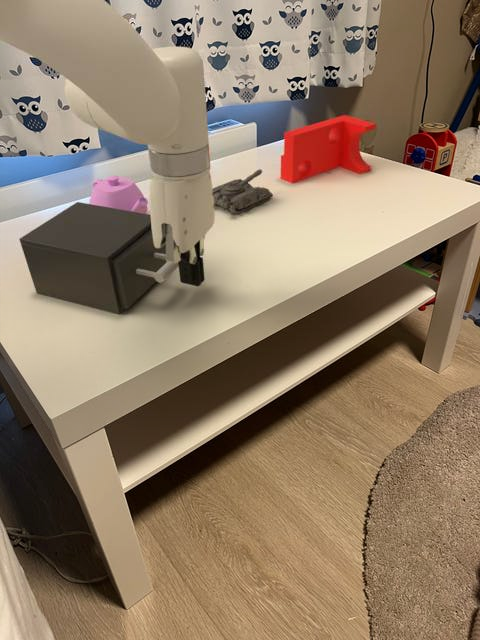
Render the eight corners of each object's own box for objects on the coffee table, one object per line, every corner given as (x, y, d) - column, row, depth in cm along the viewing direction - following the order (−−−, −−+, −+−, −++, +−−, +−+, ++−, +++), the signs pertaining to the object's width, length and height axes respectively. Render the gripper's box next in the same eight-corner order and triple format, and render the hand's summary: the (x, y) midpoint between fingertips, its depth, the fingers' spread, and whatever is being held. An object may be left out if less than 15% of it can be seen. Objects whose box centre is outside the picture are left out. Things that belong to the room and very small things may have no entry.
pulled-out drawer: (196, 273, 84) (191, 229, 79) (155, 316, 75) (148, 269, 70) (97, 252, 90) (87, 210, 86) (49, 289, 81) (35, 245, 77)
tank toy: (245, 187, 113) (245, 163, 110) (278, 199, 107) (278, 174, 104) (203, 204, 107) (201, 180, 103) (235, 218, 101) (234, 193, 98)
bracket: (341, 114, 118) (376, 123, 112) (337, 158, 125) (370, 170, 118) (281, 131, 110) (314, 143, 103) (280, 178, 116) (312, 192, 110)
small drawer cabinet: (166, 269, 87) (158, 216, 81) (119, 314, 77) (107, 257, 71) (89, 252, 92) (77, 201, 86) (36, 293, 82) (18, 238, 76)
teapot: (120, 205, 107) (112, 161, 102) (170, 225, 99) (165, 178, 94) (78, 224, 101) (67, 177, 96) (128, 247, 93) (119, 198, 88)
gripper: (181, 137, 72) (193, 253, 83) (121, 176, 61) (143, 304, 72) (231, 142, 70) (236, 261, 81) (177, 184, 59) (191, 315, 70)
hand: (192, 281), depth 77 cm, fingers closed
